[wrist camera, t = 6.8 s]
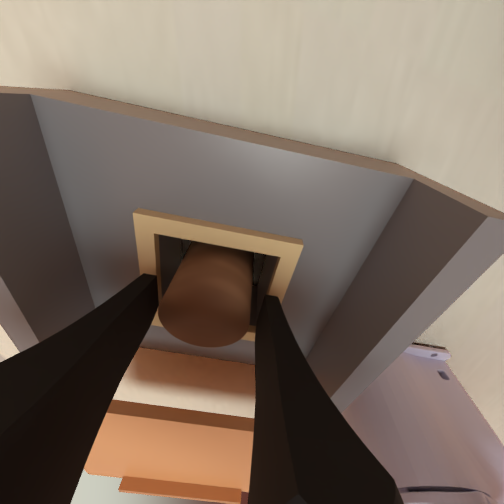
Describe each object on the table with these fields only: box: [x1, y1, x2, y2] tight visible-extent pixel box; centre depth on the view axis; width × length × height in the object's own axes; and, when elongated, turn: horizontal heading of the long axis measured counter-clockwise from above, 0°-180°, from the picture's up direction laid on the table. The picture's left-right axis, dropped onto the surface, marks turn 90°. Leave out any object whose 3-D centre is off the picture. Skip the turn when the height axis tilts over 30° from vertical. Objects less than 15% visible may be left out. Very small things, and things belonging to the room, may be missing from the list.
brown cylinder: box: [158, 241, 254, 348], centre depth 12 cm, size 4×4×6 cm
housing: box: [0, 86, 504, 413], centre depth 12 cm, size 16×14×7 cm
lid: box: [84, 400, 254, 504], centre depth 15 cm, size 16×14×1 cm
